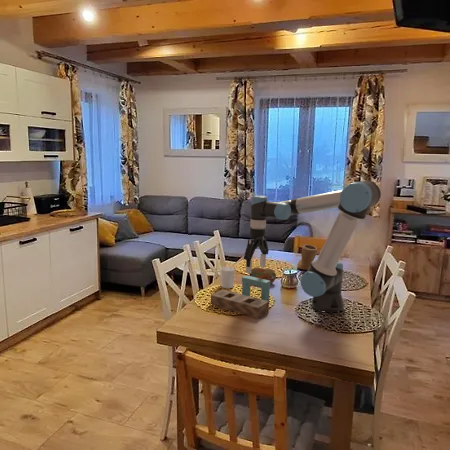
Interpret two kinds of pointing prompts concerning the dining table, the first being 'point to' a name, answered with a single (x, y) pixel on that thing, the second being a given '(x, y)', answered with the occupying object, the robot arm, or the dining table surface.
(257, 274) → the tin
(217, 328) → the dining table surface
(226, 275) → the white cup
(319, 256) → the robot arm
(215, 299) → the wooden socket block
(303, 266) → the stone cup
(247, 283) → the clip
